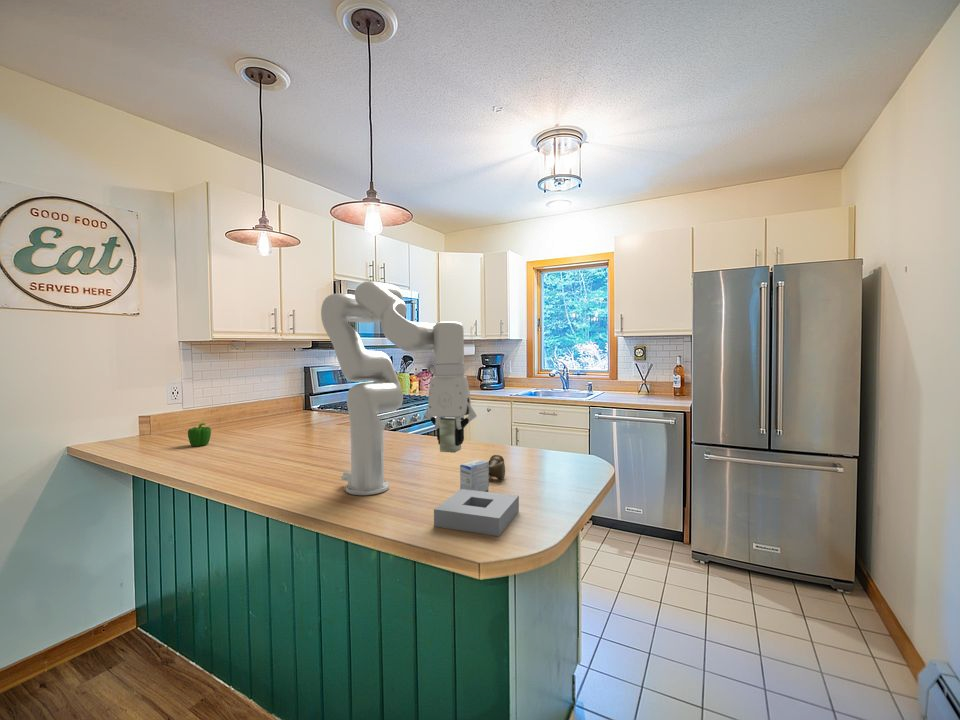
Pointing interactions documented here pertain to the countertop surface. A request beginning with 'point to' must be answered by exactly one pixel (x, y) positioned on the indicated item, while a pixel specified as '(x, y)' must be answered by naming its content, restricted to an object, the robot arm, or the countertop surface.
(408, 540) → the countertop surface
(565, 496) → the countertop surface
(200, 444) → the bell pepper
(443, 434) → the peg
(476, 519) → the socket block
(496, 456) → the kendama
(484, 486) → the medicine box
